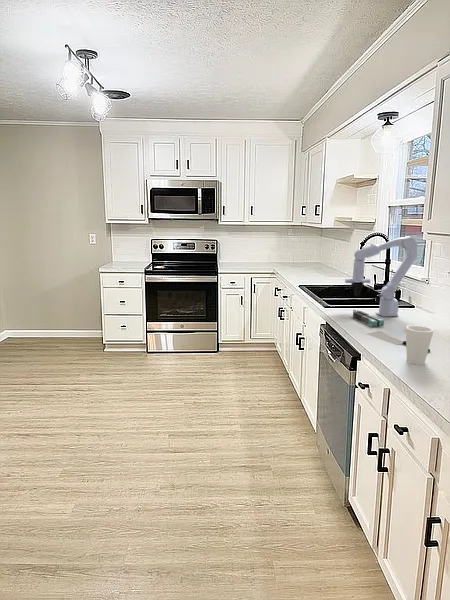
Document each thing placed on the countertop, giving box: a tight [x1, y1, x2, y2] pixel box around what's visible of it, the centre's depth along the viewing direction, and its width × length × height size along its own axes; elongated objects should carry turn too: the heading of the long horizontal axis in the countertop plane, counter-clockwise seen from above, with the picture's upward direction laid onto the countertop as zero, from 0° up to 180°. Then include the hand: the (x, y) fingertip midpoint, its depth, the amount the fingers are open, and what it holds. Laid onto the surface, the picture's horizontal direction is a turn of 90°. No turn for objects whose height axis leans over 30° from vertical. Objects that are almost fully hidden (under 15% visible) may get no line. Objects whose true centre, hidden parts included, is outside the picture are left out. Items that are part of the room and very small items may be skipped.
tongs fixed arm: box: [352, 312, 378, 328], centre depth 235 cm, size 19×3×3 cm, turn 15°
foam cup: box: [405, 325, 434, 365], centre depth 174 cm, size 10×9×13 cm
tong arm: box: [352, 309, 385, 327], centre depth 237 cm, size 22×4×3 cm, turn 16°
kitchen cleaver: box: [366, 330, 431, 354], centre depth 201 cm, size 31×2×10 cm
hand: (356, 295), depth 256 cm, fingers closed
